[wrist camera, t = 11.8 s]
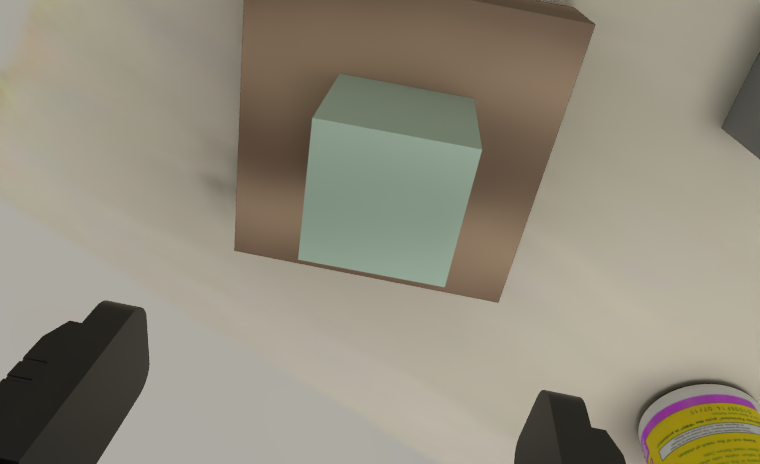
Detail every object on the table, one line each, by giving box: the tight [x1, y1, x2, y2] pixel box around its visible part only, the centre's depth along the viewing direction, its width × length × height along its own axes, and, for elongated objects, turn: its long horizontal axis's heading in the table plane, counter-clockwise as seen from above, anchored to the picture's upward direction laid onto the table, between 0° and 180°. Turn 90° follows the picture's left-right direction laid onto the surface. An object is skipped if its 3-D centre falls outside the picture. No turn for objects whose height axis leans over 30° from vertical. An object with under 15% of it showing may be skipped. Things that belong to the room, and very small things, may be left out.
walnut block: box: [234, 0, 595, 303], centre depth 24 cm, size 12×12×4 cm
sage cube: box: [298, 74, 482, 287], centre depth 20 cm, size 5×5×5 cm
